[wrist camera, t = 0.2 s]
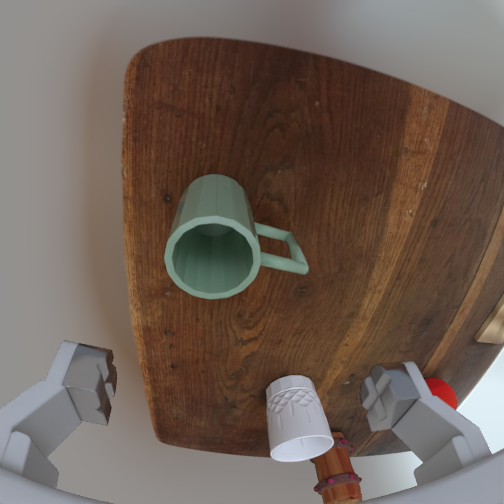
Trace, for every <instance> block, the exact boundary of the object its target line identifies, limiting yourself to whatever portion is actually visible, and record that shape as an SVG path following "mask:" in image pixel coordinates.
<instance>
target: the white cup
mask: <svg viewBox="0 0 504 504" xmlns="http://www.w3.org/2000/svg"><path fill="white" fill-rule="evenodd" d="M266 400H267V408H266V410H267V422H268V435H269V446H270V456H271V457H272V458H273V459H275V460H277V461H282V462H297V461H303V460H308V459H311V458H314V457H317V456H319V455H321V454H323V453H325V452H327V451H328V450H329V449H330V448H331V447H332V446H333V444H334V440H333V437H332V434H331V431H330V428H329V425H328V422H327V419H326V416H325V413H324V410H323V408H322V406H321V402H320V400H319V397H318V395H317V393H316V390H315V387H314V384H313V382H312V381H311V380H310V379H309V378H307V377H305V376H302V375H290V376H286V377H282V378H279V379H277V380H275V381H274V382H272V383H271V384H270V385H269V386H268V388H267V389H266Z"/></svg>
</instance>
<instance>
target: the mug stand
mask: <svg viewBox="0 0 504 504" xmlns="http://www.w3.org/2000/svg"><path fill="white" fill-rule="evenodd" d="M474 339H475V340H476V341H477V342H487V343H499V344H502V343H503V341H504V294H503V295H502V297H501V298H500V300H499V302H498V303H497V305H496V306H495V308H494V309H493V311H492V312H491V313H490V315H489V316H488V318H487V319H486V321H485V322H484V323H483V325H482V326H481V328H480V329H479V330H478V332H477V333H476V334H475V336H474Z"/></svg>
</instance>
